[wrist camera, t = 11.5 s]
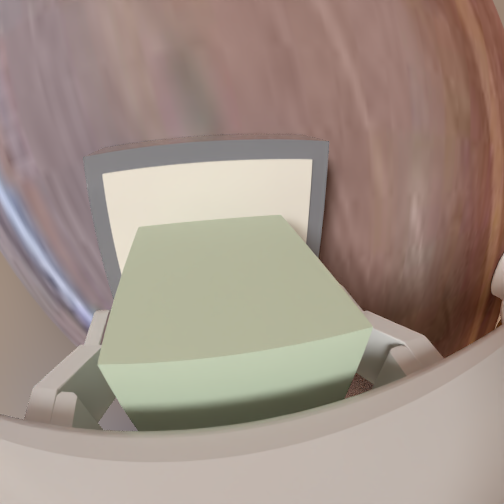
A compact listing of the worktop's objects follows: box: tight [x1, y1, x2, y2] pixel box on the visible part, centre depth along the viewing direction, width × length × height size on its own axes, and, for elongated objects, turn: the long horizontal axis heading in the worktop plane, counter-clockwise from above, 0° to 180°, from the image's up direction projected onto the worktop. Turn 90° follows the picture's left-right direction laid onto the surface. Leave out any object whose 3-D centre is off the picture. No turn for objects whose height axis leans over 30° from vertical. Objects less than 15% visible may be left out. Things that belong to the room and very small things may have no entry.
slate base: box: [83, 134, 329, 299], centre depth 14 cm, size 10×10×3 cm
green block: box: [97, 215, 373, 431], centre depth 8 cm, size 5×5×6 cm
